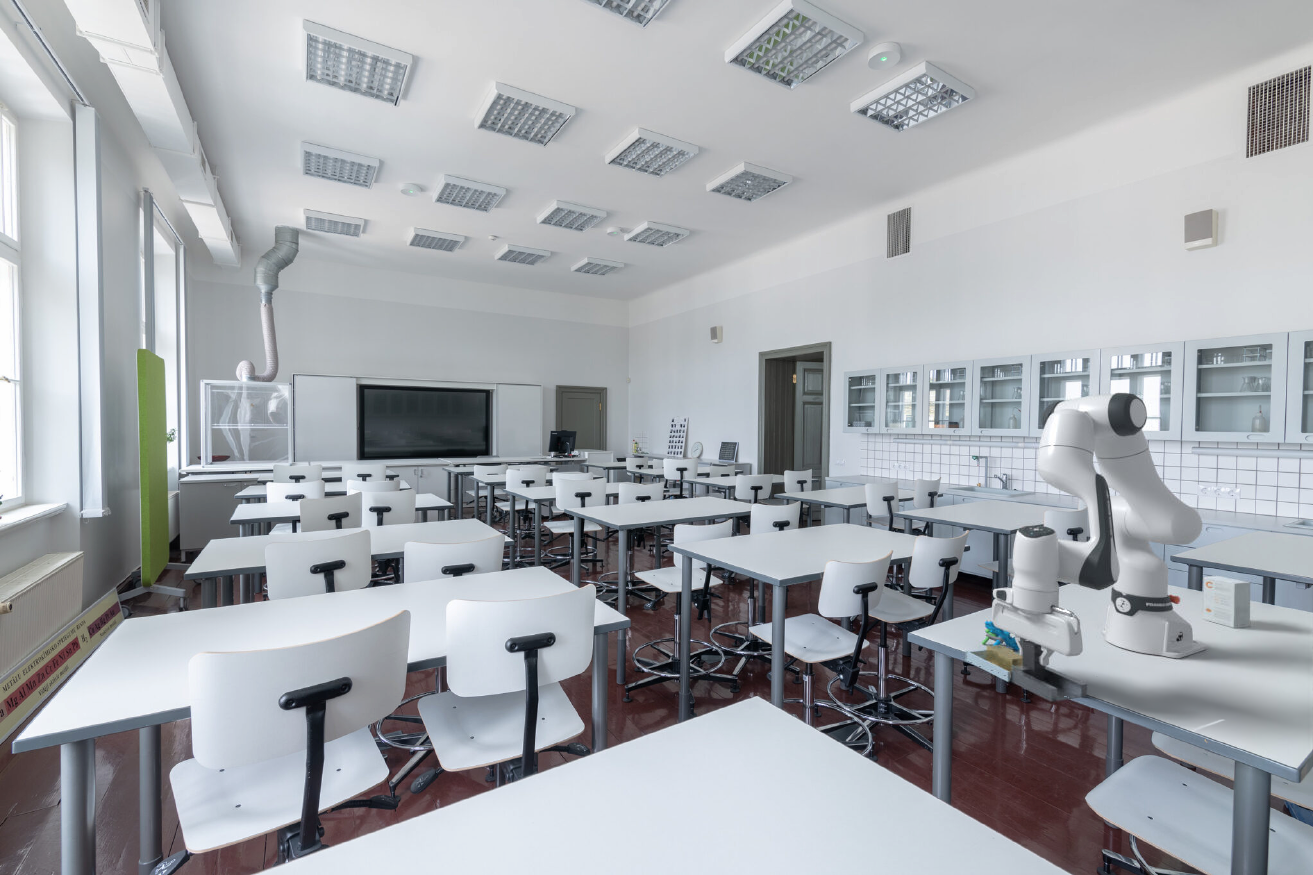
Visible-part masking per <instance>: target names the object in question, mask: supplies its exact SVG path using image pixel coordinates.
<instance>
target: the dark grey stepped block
mask: <svg viewBox="0 0 1313 875" xmlns="http://www.w3.org/2000/svg"><path fill="white" fill-rule="evenodd" d="M1022 644H1023V664H1015V665H1012V669H1017V670H1020V671H1022V672H1024V673H1026V674H1028V675H1030V676H1032V677H1034V678H1036V679H1038V680H1041V681H1045V666H1043V665H1040V664H1038V663H1037V656H1041V655H1042V653H1043V651H1042V650H1041V645H1039V644H1036V643H1034V642H1031V641H1029V640H1025V641H1022Z"/></svg>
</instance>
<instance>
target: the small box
mask: <svg viewBox="0 0 1313 875" xmlns="http://www.w3.org/2000/svg"><path fill="white" fill-rule="evenodd" d="M1202 598H1203V599H1202V600H1203V602H1202V604H1203V606H1202V610H1203V611H1202V619H1203V620H1204V621H1208V622H1212V623H1216V624H1218V625H1221V626H1225V627H1229V628H1231V629H1237V628H1238V629H1239V628H1248V627H1250V626H1251V582H1249V581H1245V580H1241V579H1235V578H1230V577H1225V576H1221V575H1213V576H1212V575H1211V576H1209V575H1208V576H1204V577H1203V597H1202Z"/></svg>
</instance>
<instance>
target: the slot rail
mask: <svg viewBox="0 0 1313 875" xmlns="http://www.w3.org/2000/svg"><path fill="white" fill-rule="evenodd" d="M1010 682H1011V683H1013V684H1015V685H1017V686H1020V687H1022V688H1023V689H1026V690H1027V691H1029V692H1031V693H1033V694H1035V695H1037V696H1038V697H1041V698H1043V699H1045V700H1047V701H1049V702H1052V703H1053V702H1059V701H1065V700H1072V699H1080V698H1086V697H1087V693H1088V692H1087V691H1088V690H1087V689H1088V684H1087V683H1086V682H1083V681H1080V680H1078V679H1076V678H1073V677H1072V676H1069V675H1067V674H1064V673H1062V672H1060V671H1058V670H1056V669H1053V668H1051V667H1049V666H1045V681H1041V680H1038V679H1036V678H1034V677H1032V676H1030V675H1028V674H1026V673H1024V672H1022V671H1020V670H1017V669H1012V670H1011V676H1010ZM1064 696H1067V697H1064ZM1068 697H1069V698H1068Z"/></svg>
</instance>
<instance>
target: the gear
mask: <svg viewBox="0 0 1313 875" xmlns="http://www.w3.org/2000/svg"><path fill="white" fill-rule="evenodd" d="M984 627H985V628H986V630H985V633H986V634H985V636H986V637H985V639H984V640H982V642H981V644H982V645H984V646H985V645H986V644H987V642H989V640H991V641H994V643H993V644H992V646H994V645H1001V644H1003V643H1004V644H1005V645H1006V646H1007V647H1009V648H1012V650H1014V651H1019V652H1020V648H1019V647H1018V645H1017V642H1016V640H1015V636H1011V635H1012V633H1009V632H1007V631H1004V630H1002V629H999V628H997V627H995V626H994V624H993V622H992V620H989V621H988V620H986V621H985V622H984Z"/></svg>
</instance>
